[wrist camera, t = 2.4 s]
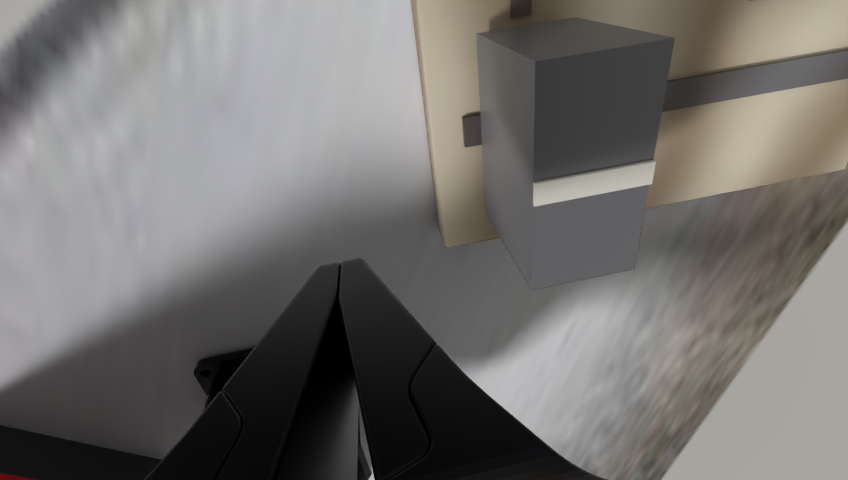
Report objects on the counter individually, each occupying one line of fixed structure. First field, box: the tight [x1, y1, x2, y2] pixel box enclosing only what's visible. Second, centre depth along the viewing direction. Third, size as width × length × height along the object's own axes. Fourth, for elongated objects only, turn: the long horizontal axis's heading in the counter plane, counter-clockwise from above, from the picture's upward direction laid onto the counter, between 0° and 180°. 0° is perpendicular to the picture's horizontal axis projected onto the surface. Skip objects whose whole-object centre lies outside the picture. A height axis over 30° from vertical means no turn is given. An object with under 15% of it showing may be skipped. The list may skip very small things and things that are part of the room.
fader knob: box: [476, 17, 675, 290], centre depth 12 cm, size 3×6×5 cm, turn 7°
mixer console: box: [411, 0, 848, 248], centre depth 16 cm, size 17×9×2 cm, turn 97°
